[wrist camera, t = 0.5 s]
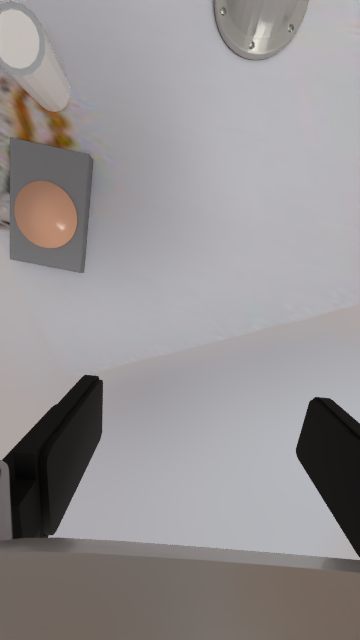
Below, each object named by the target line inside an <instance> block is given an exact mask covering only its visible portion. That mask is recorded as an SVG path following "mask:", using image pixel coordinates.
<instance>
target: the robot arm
mask: <svg viewBox="0 0 360 640" xmlns="http://www.w3.org/2000/svg"><path fill="white" fill-rule="evenodd" d="M308 2H309V0H215V16H216V22H217V25H218V29H219V31H220V33H221V36H222V38H223V39H224V41H225V42H226V44H227V45H228V46H229V47H230V48H231V49H232V50H233V51H234V52H235V53H237V54H238V55H240V56H242V57H244V58H248V59H253V60H260V59H265V58H269V57H271V56H273V55H275V54H277V53H278V52H280V51H281V50H283V49H284V48H285V47H286V46H287V45H288V44H289V43H290V41H291V40H292V38H293V37H294V36H295V34H296V32H297V30H298V28H299V26H300V24H301V23H302V20H303V18H304V15H305V13H306V10H307V6H308ZM102 396H103V381H102V380H99V377H98V376H91V375H84V376H83V377H82V378H81V379H80V380H79V381H78V382H77V383H76V385H75V386H74V387H73V388H72V389H71V390H70V391H69V392H68V393H67V394H66V395H65V396H64V397H63V398H62V400H61V401H60V402H59V403H58V404H56V405H54V406H53V407H52V408H51V409H50V410H49V411H48V412H47V413H46V414H45V415H44V416H43V417H42V418H41V419H40V420H39V422H38V423H37V424H36V425H35V426H34V427H33V428H32V429H31V430H30V431H29V432H28V433H27V434H26V435H25V436H24V437H23V438H22V440H21V441H20V442H19V443H18V444H17V445H16V446H15V447H14V448H13V449H12V450H11V451H10V452H9V453H8V454H7V456H6V457H5V458H4V459H3V460H0V640H360V560H351V559H340V558H339V559H338V558H328V557H317V556H304V555H293V554H281V553H269V552H256V551H244V550H232V549H219V548H206V547H193V546H179V545H167V544H153V543H139V542H127V541H111V540H92V539H73V538H48V535H53V534H54V533H55V532H56V530H57V528H58V526H59V524H60V522H61V520H62V518H63V516H64V514H65V512H66V510H67V508H68V506H69V503H70V501H71V499H72V497H73V495H74V493H75V491H76V489H77V487H78V485H79V483H80V481H81V478H82V476H83V474H84V472H85V470H86V468H87V466H88V464H89V462H90V459H91V458H92V455H93V453H94V451H95V449H96V447H97V445H98V443H99V441H100V438H101V434H102V401H103V400H102V399H103V397H102ZM296 454H297V457H298V459H299V461H300V462H301V464H302V466H303V467H304V469H305V471H306V472H307V474H308V475H309V477H310V479H311V480H312V482H313V483H314V485H315V487H316V488H317V490H318V491H319V493H320V495H321V496H322V498H323V500H324V501H325V503H326V504H327V506H328V508H329V509H330V511H331V512H332V514H333V516H334V517H335V519H336V521H337V522H338V524H339V525H340V527H341V529H342V530H343V532H344V533H345V535H346V537H347V538H348V540H349V541H350V543H351V545H352V546H353V548H354V550H355V551H356V553H357V554H358V556H359V557H360V424H359V423H358V422H357V421H356V420H355V419H353V417H351V416H350V415H349V414H348V413H347V412H346V411H344V410H343V409H342V408H341V407H340V406H339V405H337V404H336V403H335V402H334V401H333V400H331V399H329V398H319V397H315V398H314V399H313V400H311V401H310V402H309V405H308V409H307V412H306V416H305V419H304V423H303V426H302V430H301V434H300V437H299V440H298V444H297V448H296Z"/></svg>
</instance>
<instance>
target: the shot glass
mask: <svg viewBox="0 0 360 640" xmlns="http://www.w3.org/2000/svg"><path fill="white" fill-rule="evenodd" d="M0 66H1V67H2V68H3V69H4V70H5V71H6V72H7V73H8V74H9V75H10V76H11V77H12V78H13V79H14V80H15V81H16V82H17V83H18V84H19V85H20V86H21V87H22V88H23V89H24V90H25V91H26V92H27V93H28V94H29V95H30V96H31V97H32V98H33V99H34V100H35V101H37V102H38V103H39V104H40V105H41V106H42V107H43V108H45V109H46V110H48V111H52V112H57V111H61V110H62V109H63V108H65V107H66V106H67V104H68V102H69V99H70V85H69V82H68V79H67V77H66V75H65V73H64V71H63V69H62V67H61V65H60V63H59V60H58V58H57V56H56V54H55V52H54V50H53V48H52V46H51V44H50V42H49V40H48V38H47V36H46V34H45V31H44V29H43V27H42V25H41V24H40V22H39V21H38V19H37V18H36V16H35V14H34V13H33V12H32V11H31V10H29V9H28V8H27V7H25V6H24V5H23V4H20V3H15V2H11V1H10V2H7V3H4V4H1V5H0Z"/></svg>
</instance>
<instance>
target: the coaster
mask: <svg viewBox="0 0 360 640" xmlns="http://www.w3.org/2000/svg"><path fill="white" fill-rule="evenodd" d="M14 213H15V219H16V222H17V225H18V227H19V229H20V230H21V232H22V233H23V235H24V236H25V237H26V238H27V239H28V240H29V241H31V242H32V243H34V244H36V245H38V246H40V247H44V248H58V247H61V246H64V245H65V244H67V243H68V242H69V241H70V240H71V239H72V238H73V236H74V234H75V232H76V229H77V224H78V216H77V210H76V207H75V205H74V203H73V201H72V199H71V198H70V196H69V195H68V194H67V193H66V192H65V191H64V190H63V189H62V188H60V187H59V186H57V185H56V184H53V183H51V182H47V181H34V182H31V183H29V184H27V185H26V186H24V187H23V188H22V189H21V190H20V192H19V193H18V195H17V198H16V200H15V206H14Z"/></svg>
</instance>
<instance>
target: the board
mask: <svg viewBox="0 0 360 640" xmlns="http://www.w3.org/2000/svg"><path fill="white" fill-rule="evenodd" d="M92 169H93V159H92V157H91V156H90V155H89V154H84V153H80V152H75V151H70V150H66V149H61V148H57V147H52V146H47V145H43V144H38V143H34V142H29V141H24V140H20V139H15V138H11V137H10V259H12V260H18V261H23V262H28V263H33V264H38V265H43V266H48V267H54V268H59V269H64V270H69V271H74V272H79V273H84V266H85V254H86V242H87V230H88V218H89V205H90V193H91V181H92ZM34 181H47V182H51V183H53V184H56V185H57V186H59V187H60V188H62V189H63V190H64V191H65V192H66V193H67V194H68V195H69V196H70V198H71V199H72V201H73V203H74V205H75V207H76V210H77V216H78V224H77V229H76V232H75V234H74V236H73V238H72V239H71V240H70V241H69V242H68V243H67V244H65V245H64V246H61V247H58V248H44V247H40V246H38V245H36V244H34V243H32V242H31V241H29V240H28V239H27V238H26V237H25V236H24V235H23V233H22V232H21V230H20V229H19V227H18V225H17V222H16V219H15V213H14V206H15V200H16V198H17V195H18V193H19V192H20V190H21V189H22V188H23V187H24V186H26V185H27V184H29V183H31V182H34Z"/></svg>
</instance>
